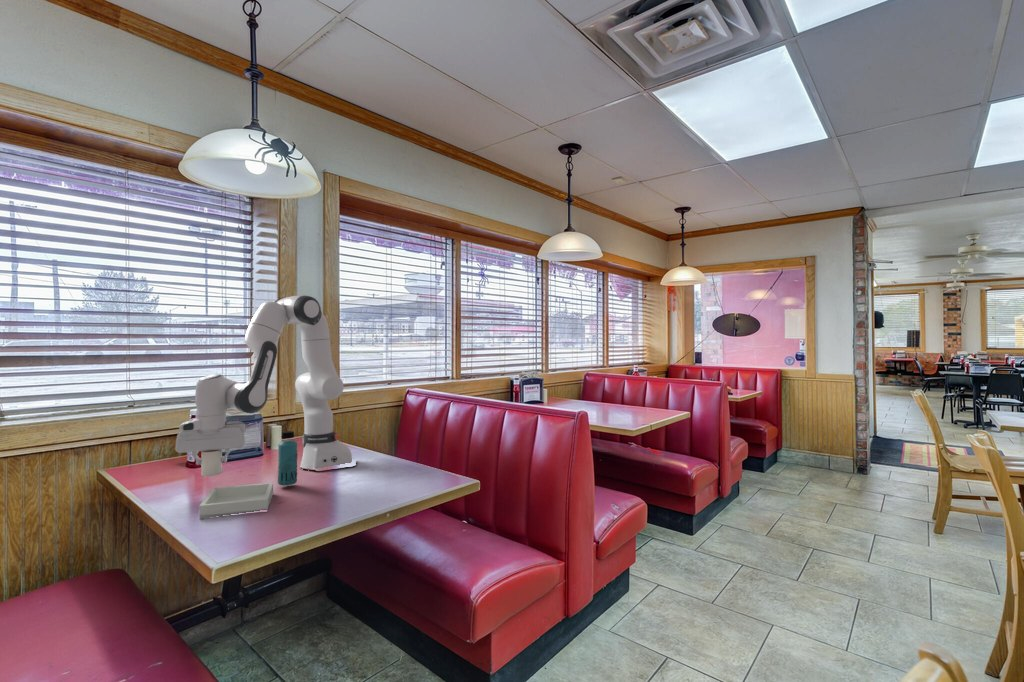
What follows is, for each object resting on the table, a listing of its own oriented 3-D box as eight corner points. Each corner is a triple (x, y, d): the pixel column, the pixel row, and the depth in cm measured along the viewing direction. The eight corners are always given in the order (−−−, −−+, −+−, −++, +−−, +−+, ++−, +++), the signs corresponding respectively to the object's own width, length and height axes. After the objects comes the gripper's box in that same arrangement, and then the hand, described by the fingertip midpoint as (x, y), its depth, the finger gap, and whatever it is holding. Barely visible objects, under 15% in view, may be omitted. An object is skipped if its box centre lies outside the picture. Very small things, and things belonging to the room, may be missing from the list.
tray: (273, 494, 167) (273, 482, 167) (267, 512, 150) (267, 499, 150) (212, 500, 161) (212, 487, 161) (199, 519, 144) (199, 505, 144)
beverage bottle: (277, 491, 171) (278, 433, 170) (277, 485, 177) (277, 430, 176) (298, 488, 174) (298, 432, 173) (296, 483, 180) (297, 429, 179)
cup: (223, 470, 171) (223, 447, 170) (220, 475, 165) (219, 451, 165) (203, 472, 169) (203, 449, 168) (199, 477, 163) (199, 453, 163)
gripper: (246, 419, 173) (247, 457, 173) (178, 423, 166) (179, 463, 166) (244, 422, 167) (244, 462, 168) (173, 426, 160) (174, 468, 160)
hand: (211, 462), depth 167 cm, fingers closed on cup, 6 cm apart
